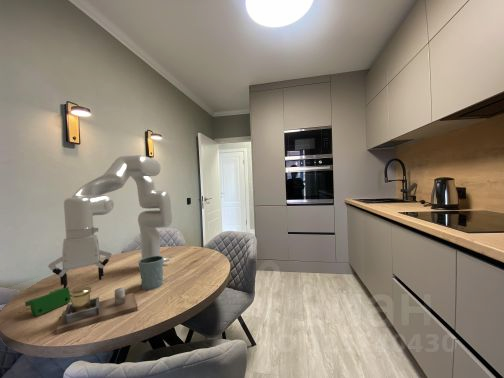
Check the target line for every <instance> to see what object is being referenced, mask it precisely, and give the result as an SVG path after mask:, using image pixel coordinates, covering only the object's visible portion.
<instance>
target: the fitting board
mask: <svg viewBox="0 0 504 378" xmlns="http://www.w3.org/2000/svg"><path fill="white" fill-rule="evenodd" d="M125 289H126V288H125V287H118V288H116V289H115V290H114V297H112V298H109V299H105V300H100V297H99V296H97V297H93V298H90V305H91V308H90V309H87V310H83V311H79V312H75V313H72V303H69V304H68V303H67V305H66V308H65V310H62V313H61V316H60V319H59V321H58V325H57V327H56V335H60V334H64V333H66V332H70V331H73V330H77V329H79V328H83V327H84V328H85V327H87V326H90V325H93V324H98V323H100V322H104V321H107V320H112V319H115V318H117V317H120V316H124V315H128V314H131V313H133V312H137V311H138V310H139V309H138V304H137V300H136V297H135V293H134V292H132V293H128V294H125V293H126V292H125V291H126V290H125Z"/></svg>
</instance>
